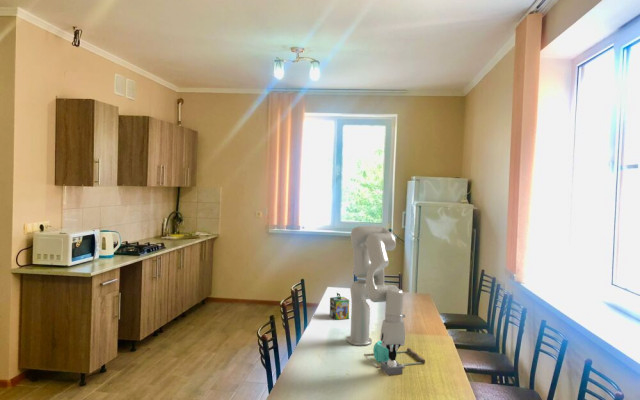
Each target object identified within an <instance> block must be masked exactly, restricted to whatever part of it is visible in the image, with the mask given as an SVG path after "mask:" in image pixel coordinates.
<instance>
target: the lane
mask: <svg viewBox="0 0 640 400" xmlns="http://www.w3.org/2000/svg"><path fill="white" fill-rule="evenodd" d="M405 353H406V354H407V353H408V354H409V355H411V356H412V357H413V358H414V359H415V360H417V361H418V362H406V363H399V364H400V365H401V366H402V367H403V369H406V366H413V365H414V366H415V365H416V366H417V365H425V364H426V360H425V358H423V357H422V356H421V355H420V354H418V353H417V352H416V351H414V350H413V349H411V348H410V347H407V349H406V350H401V351H397V354H405ZM363 355H364V357H365V358H366V359H367V360H369V362H370V363H372V365H374V367H375V368H376V369H381V365H377V363H376V362H374V360H373V359H372V358H371V357H370V356H374V353H373V352H372V353H364V354H363Z"/></svg>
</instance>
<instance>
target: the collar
mask: <svg viewBox="0 0 640 400" xmlns="http://www.w3.org/2000/svg"><path fill="white" fill-rule="evenodd" d="M395 361H396V360H395ZM387 362H388V361H384V362H381V363H380V366H381V368H380V369H381V371H383V372H384V374H386V375H387V376H391V375H392V376H393V375H402V374H403V369H404V368H403V367H402V366H401V365H400V364H401V363H399V362H398V361H396V364H397V366H395V367H388V366H387Z"/></svg>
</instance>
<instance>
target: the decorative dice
mask: <svg viewBox="0 0 640 400" xmlns="http://www.w3.org/2000/svg"><path fill="white" fill-rule="evenodd" d="M381 343H382V341H381V340H379V341H377V342H375V344H374V346H373V349H372V354H373V353H374V355H373V357H374V359H375V361H376V362H378V363H380V364H381V362H384V361H388V360H389V356H388V355H389V350H388V349H387V348H386V347H382V346H381ZM392 347H393V345H392ZM397 354H398V353H397V351H396V356H398V355H397Z"/></svg>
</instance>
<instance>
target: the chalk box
mask: <svg viewBox="0 0 640 400" xmlns="http://www.w3.org/2000/svg"><path fill="white" fill-rule="evenodd" d="M329 316H330V317H331V319H333V320H335V321H337V320H347V319H348V320H349V319H350V299H348V298H347V297H344V296H342V295H341V294H340V293H338V292H336V296H333V297H330V298H329Z"/></svg>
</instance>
